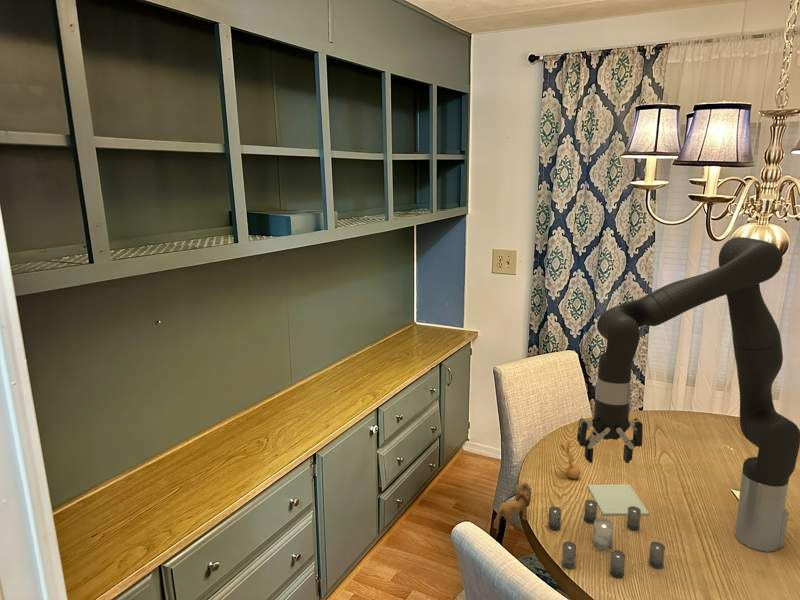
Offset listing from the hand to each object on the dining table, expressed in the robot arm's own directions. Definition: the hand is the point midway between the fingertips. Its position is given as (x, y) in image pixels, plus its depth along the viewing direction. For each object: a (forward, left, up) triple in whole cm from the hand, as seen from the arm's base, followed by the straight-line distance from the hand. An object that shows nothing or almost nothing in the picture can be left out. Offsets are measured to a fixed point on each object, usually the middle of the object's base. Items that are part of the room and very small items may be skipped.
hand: (607, 461), depth 129 cm
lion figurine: (+20, -10, -23) cm, 32 cm away
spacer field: (0, 0, -23) cm, 23 cm away
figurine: (0, -31, -23) cm, 38 cm away
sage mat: (-10, -19, -23) cm, 31 cm away
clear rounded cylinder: (0, 0, -23) cm, 23 cm away
